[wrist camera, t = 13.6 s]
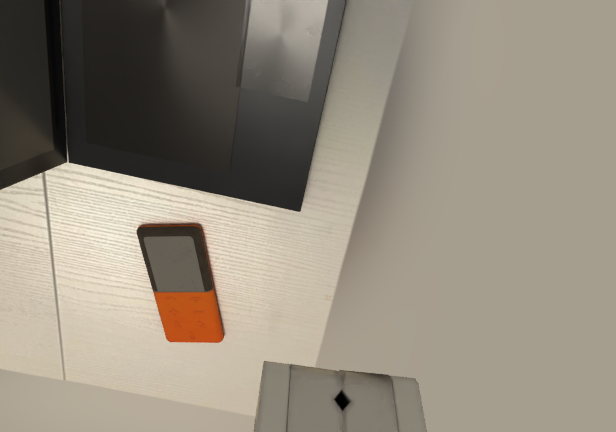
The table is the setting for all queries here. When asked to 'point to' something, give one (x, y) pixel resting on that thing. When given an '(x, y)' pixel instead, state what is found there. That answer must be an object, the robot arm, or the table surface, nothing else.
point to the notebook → (200, 91)
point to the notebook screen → (30, 90)
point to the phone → (181, 282)
